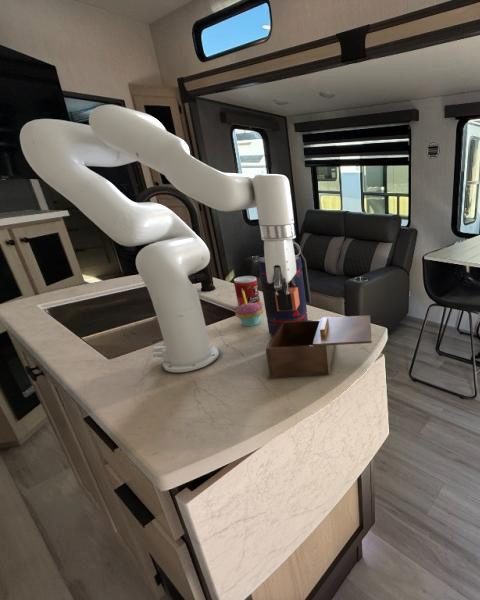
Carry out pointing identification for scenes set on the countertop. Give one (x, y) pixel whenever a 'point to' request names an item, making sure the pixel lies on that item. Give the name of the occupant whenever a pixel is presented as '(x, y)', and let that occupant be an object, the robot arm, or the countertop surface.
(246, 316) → the cupcake
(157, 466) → the countertop surface
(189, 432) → the countertop surface
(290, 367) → the storage box
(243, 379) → the countertop surface
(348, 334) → the sliding door
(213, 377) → the countertop surface
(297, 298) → the block
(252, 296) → the canned food
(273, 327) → the grenade
